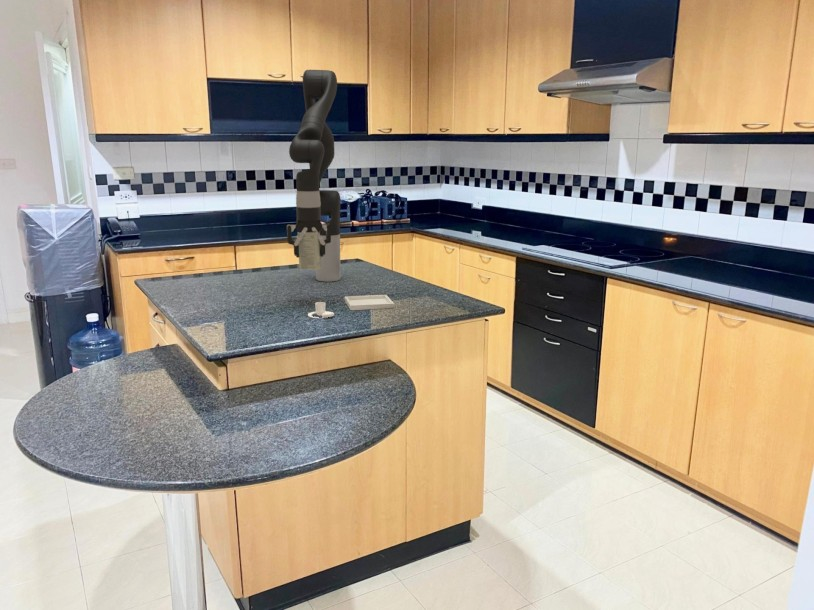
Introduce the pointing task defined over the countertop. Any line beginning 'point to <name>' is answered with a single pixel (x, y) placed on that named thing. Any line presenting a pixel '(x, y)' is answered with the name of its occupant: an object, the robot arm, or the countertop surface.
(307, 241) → the skincare box
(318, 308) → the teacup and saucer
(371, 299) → the tray
